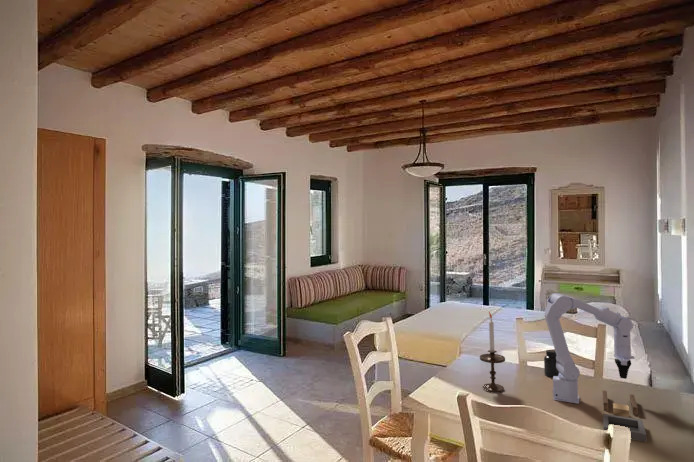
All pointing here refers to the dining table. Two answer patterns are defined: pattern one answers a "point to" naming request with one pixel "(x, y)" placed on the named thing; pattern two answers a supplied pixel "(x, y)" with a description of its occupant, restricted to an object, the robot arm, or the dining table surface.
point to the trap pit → (627, 425)
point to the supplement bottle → (550, 363)
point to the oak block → (621, 410)
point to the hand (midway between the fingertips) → (623, 377)
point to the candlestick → (492, 361)
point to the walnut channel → (632, 402)
